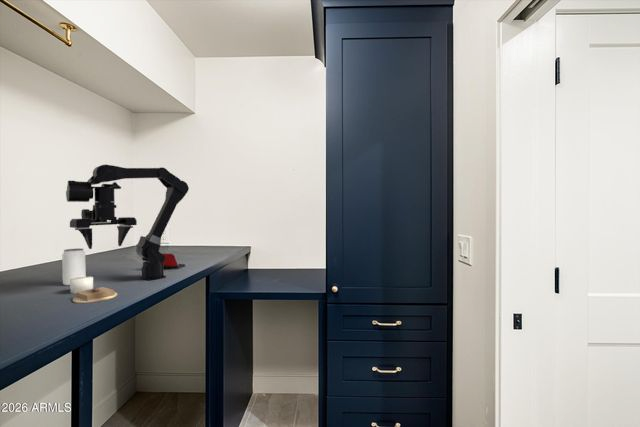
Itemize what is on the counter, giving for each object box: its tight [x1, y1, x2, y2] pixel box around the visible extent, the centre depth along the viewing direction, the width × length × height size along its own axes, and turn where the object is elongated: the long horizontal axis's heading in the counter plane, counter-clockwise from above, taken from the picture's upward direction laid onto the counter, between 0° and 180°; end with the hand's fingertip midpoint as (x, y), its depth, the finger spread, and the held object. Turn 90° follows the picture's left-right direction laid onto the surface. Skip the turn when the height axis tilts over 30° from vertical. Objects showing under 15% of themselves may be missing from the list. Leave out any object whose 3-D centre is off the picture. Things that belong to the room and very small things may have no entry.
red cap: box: [162, 253, 186, 270], centre depth 144 cm, size 12×11×7 cm
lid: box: [75, 286, 116, 301], centre depth 98 cm, size 7×7×2 cm
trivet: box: [72, 291, 118, 304], centre depth 98 cm, size 11×11×1 cm
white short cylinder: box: [69, 276, 94, 295], centre depth 105 cm, size 6×6×4 cm
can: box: [61, 248, 87, 286], centre depth 116 cm, size 6×6×12 cm
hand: (105, 247), depth 113 cm, fingers open, 9 cm apart
